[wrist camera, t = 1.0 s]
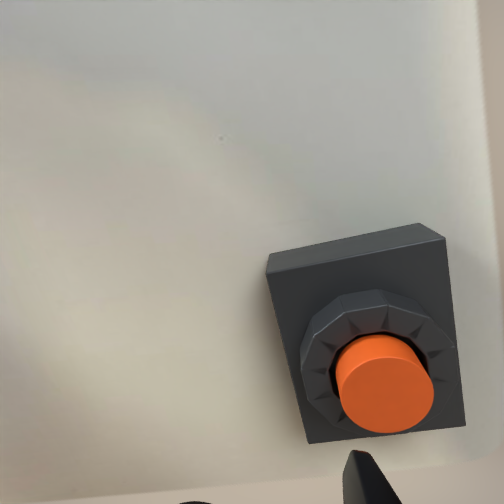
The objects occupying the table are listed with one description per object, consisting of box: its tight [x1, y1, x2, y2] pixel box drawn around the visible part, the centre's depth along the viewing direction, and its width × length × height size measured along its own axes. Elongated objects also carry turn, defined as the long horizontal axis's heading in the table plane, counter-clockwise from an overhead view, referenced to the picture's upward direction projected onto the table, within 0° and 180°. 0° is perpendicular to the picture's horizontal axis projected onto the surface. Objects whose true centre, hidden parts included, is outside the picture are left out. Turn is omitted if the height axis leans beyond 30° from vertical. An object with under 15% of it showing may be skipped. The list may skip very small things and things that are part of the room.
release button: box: [335, 335, 434, 433], centre depth 15 cm, size 4×4×2 cm
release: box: [266, 223, 466, 444], centre depth 18 cm, size 10×8×5 cm
